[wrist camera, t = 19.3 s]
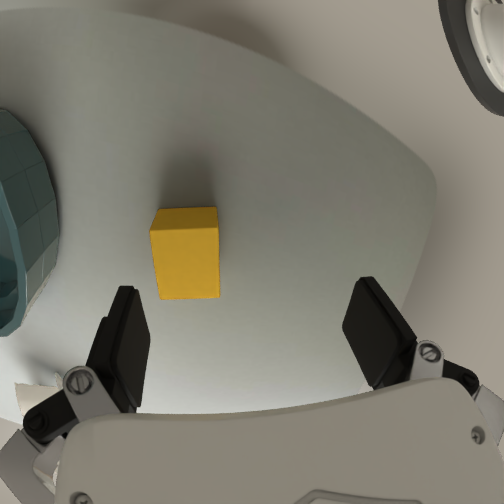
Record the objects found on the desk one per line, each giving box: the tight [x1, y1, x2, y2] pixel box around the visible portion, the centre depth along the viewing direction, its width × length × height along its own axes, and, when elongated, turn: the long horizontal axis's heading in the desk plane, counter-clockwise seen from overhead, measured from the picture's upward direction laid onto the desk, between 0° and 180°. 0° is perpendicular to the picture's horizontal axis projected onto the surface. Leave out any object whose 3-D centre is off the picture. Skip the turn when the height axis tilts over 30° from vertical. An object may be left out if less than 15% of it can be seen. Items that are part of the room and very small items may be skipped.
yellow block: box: [149, 207, 220, 300], centre depth 18 cm, size 4×5×4 cm
